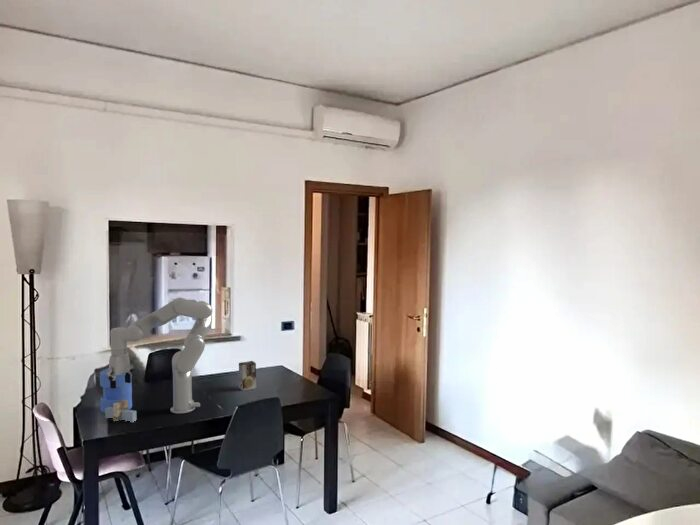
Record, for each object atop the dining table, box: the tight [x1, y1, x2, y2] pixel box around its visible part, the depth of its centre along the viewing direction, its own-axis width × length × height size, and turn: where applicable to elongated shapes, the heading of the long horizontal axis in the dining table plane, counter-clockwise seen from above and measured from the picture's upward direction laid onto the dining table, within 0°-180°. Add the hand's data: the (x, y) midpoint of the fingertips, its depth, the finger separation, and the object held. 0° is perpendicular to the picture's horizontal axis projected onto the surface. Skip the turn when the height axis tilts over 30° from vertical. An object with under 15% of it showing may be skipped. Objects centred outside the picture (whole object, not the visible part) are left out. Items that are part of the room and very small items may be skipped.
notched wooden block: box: [113, 400, 128, 422], centre depth 258 cm, size 7×3×9 cm, turn 160°
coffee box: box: [238, 360, 257, 392], centre depth 311 cm, size 9×6×16 cm
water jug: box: [99, 367, 133, 414], centre depth 273 cm, size 16×16×28 cm
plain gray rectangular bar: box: [104, 407, 138, 423], centre depth 258 cm, size 18×3×5 cm, turn 69°
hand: (120, 385), depth 258 cm, fingers open, 9 cm apart
